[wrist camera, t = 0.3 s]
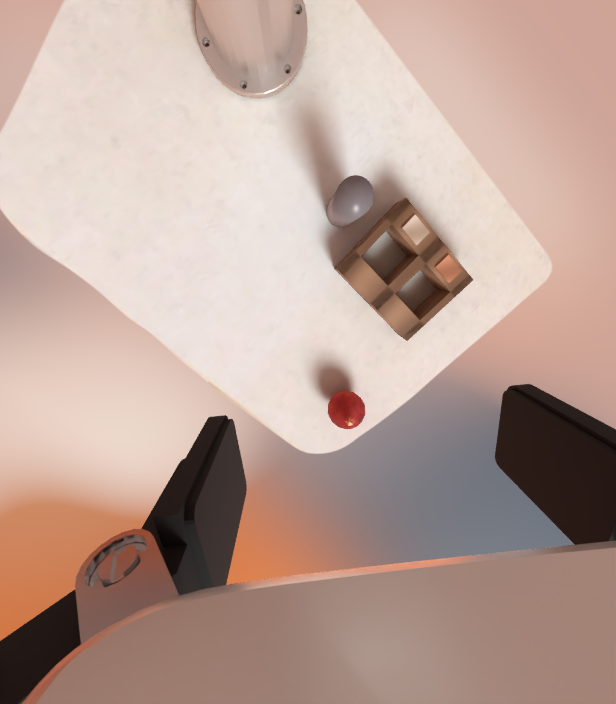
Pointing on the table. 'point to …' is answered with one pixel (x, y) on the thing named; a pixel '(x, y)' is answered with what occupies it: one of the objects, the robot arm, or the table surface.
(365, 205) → the plug
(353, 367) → the table surface
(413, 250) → the socket block
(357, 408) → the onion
